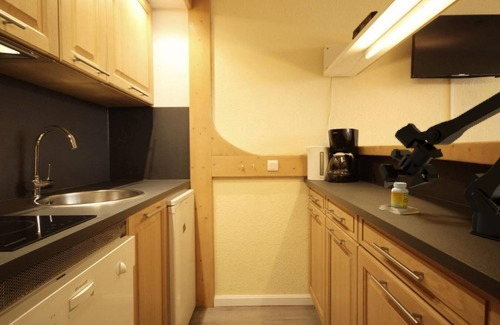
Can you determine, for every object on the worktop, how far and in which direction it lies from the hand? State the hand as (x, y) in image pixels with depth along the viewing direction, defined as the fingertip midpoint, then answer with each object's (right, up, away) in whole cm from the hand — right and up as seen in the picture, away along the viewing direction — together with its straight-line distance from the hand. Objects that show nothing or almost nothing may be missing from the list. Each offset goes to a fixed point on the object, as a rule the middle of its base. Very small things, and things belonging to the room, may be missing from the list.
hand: (397, 187), depth 97 cm
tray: (0, -9, -1) cm, 9 cm away
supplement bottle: (0, -8, -1) cm, 8 cm away
